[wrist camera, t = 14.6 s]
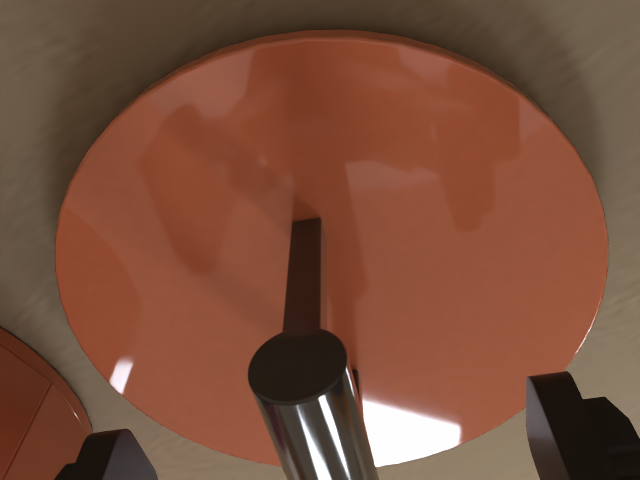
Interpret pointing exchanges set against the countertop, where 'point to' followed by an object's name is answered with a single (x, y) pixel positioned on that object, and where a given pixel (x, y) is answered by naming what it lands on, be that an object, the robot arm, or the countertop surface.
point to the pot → (36, 415)
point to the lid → (330, 251)
